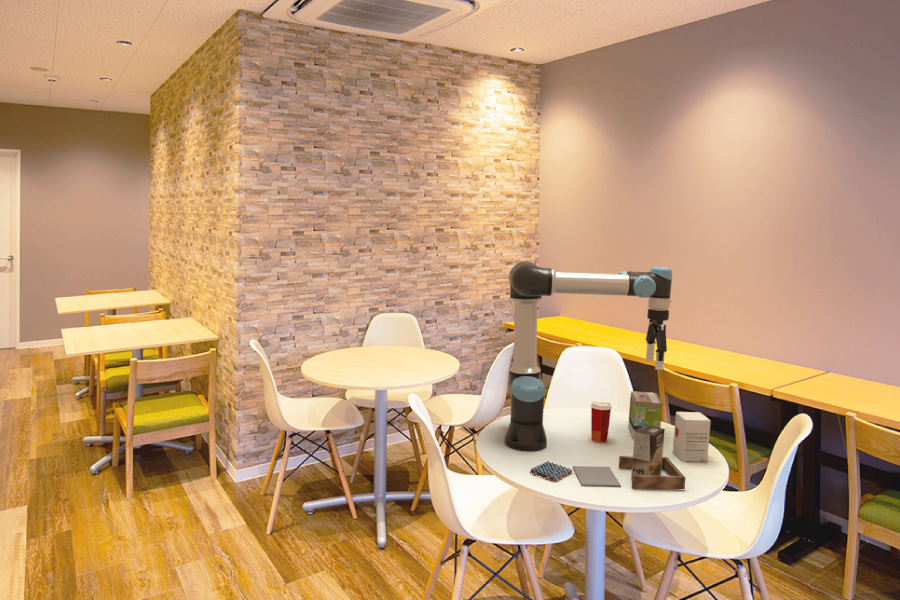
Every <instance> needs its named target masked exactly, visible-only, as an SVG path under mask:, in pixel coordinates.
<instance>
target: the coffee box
mask: <svg viewBox="0 0 900 600" xmlns="http://www.w3.org/2000/svg"><path fill="white" fill-rule="evenodd" d="M664 440H665V428H661V427H660V428H659V427H655V426H649V425H645V426H643V427H641V428H639V429H637V430H636V431H635V436H634V439H633V453H632V456H633V462H632V469H631V478H630V479H631V481H632V476H633V475H662V470H661V469H662V457H664V442H665V441H664Z"/></svg>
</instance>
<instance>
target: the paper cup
mask: <svg viewBox="0 0 900 600" xmlns="http://www.w3.org/2000/svg"><path fill="white" fill-rule="evenodd" d="M589 406H590V409H591V411H590V413H591V415H590V417H591V420H590V421H591V422H590V423H591V424H590V425H591V426H590V427H591V433H590V434H591V436H590V437H591V440H592V441H593V442H595V441H596V443H606V442H607V441H608V436H609V429H610V428H609V427H610V419H611V418H610V417H611V411H612V408H613V407H612V404H611V403H610V402H609V401H605V400H593V401H592V402H591V403H590V405H589Z"/></svg>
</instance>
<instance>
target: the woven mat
mask: <svg viewBox="0 0 900 600" xmlns="http://www.w3.org/2000/svg"><path fill="white" fill-rule="evenodd" d="M530 473H532V474H531V475H533V474H534V475H533V476H536V475H537V477H538V476H541V477H543V478H542V479H544V478H545V480H547V481H550V482H552V483H555V484H556V483H557V482H560V481H561V480H563V479H564V478H566V477H568V476H569V477H570V476H571V475H573V469H571V468H569V467H566V466H562V465H561V464H560V465H559V464H558V463H554V462H550V461H549V460H548V461H544V463H541V464H539V465H536V466H535V467H532V468H531V469H530V471H529V474H530ZM541 477H540V478H541Z"/></svg>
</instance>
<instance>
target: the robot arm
mask: <svg viewBox="0 0 900 600" xmlns="http://www.w3.org/2000/svg"><path fill="white" fill-rule="evenodd" d="M508 277H509V278H508V279H509V282H510V283H509V284H510V285H509V288H510V289H509V298H510V300H511V301H512V302H513V365H511V366H510V368H509V380H508V381H509V382H508V392H509V395H510V422H509V424H508V427H507V430H506V433H505V435H504V444H505V446H508V447H509V448H511V449H514V450H518V451H523V452H534V451H540V450H544V449H545V448H547V445H548V440H547V439H548V438H547V435H546V431H545V427H544V409H545V408H544V407H545V405H544V402H545V394H546V389H545V384H544V382H543V380H542V379H541V368H539V366H538V364H537V363H538V362H537V359H538V358H537V357H538V354H537V352H538V351H537V350H538V349H537V348H538V347H537V345H538V343H537V342H538V303H539V302H540V301H541V300H542V296H545V297H552V296H553V295H554V294H567V295H568V294H570V295H571V294H572V295H598V296H600V295H601V296H602V295H603V296H625V297H639V298H642V299H647V298H648V299H647V300H648V301H647V307H648V308H647V314H646V317H647V319H648V320H649V322H648V328H647V331H646V337H645V341H646V353H645V361H646V362H654V361H655V363H654V364H655V365H654V370H656V371H657V370H658V371H661V370H662V371H663V370H664V362H665V353H666V352H667V351H668V350H667V349H668V348H667V345H668V344H667V331H666V330H667V325H666V324H664V322H665V321H666V322H667V321H668V320H669V319H670V318H669V316H670V310H669V309H670V303H672V300H671V292H672V283H673V282H672V281H673V270H672V269H671V268H670V267H667V266H652V267H651V268H650V271H633V270H631V271H629V270H626V271H623V270H621V271H619V272H618V273H600V272H599V273H598V272H575V271H556V270H554V269H553V268H551V267H549V268H548V267H541V266H538V265H537V263H534V262H531V261H526V260H525V261H520V262H517V263H516V264H515V265H513V267H512V268H511V270H510V271H509V276H508ZM655 344H656V346H655ZM655 347H656V348H657V349H655ZM654 355H655V356H654ZM654 357H655V358H654ZM654 359H655V360H654Z"/></svg>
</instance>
